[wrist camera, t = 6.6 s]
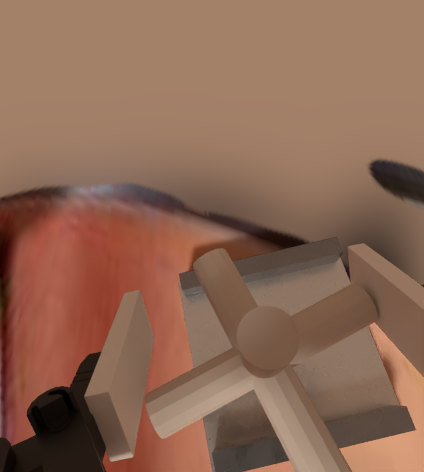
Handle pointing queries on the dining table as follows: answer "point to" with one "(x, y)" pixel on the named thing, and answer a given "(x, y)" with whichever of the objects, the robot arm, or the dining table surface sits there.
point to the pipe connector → (263, 363)
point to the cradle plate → (309, 371)
